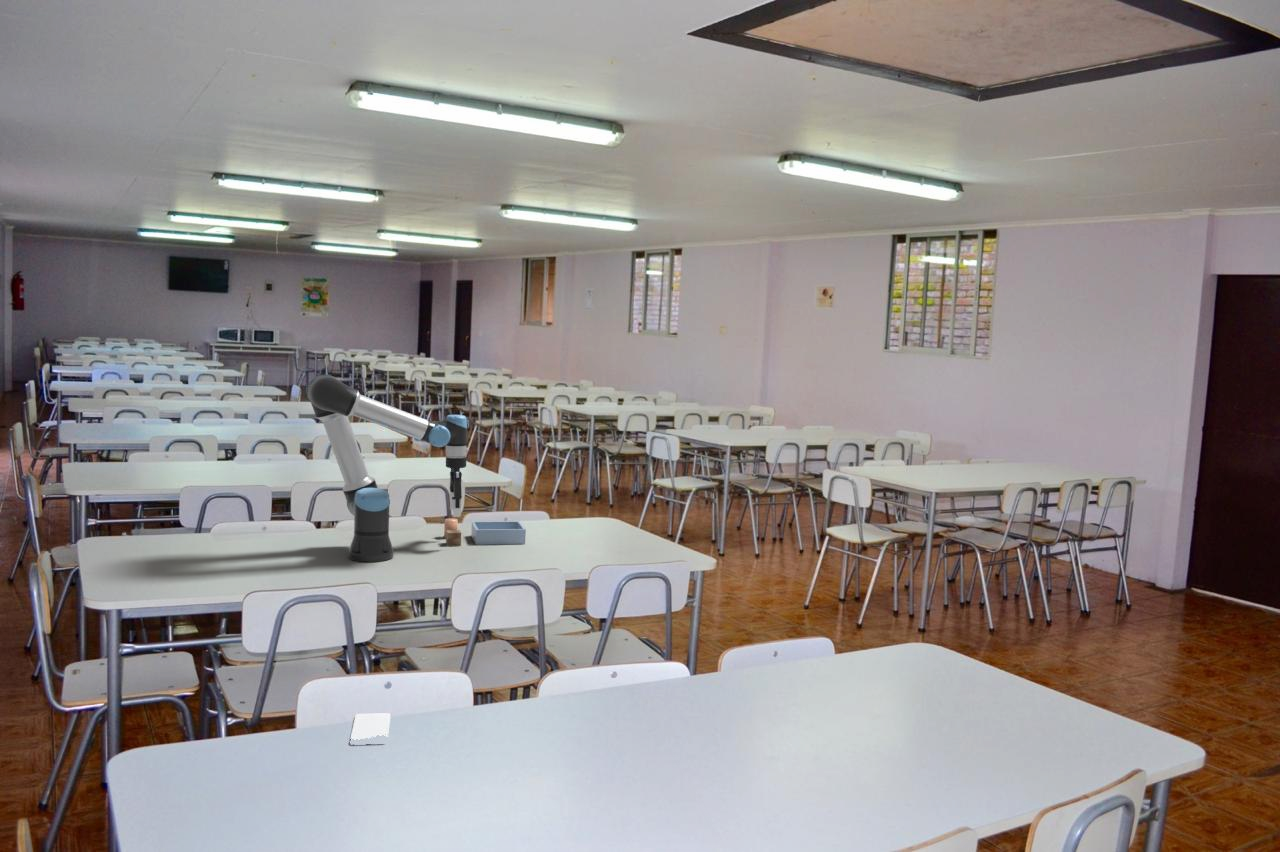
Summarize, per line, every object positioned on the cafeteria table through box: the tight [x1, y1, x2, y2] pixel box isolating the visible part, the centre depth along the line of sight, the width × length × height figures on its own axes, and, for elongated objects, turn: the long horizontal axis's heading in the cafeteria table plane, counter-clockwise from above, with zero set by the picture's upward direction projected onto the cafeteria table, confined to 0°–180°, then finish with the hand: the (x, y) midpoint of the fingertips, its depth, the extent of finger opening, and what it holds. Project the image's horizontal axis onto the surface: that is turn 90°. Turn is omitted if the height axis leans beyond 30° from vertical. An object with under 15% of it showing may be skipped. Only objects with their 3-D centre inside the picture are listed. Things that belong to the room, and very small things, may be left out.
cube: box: [445, 529, 462, 547], centre depth 370 cm, size 5×5×5 cm
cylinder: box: [443, 517, 459, 539], centre depth 382 cm, size 5×5×7 cm
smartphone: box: [349, 712, 392, 740], centre depth 202 cm, size 7×1×15 cm
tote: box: [470, 520, 527, 546], centre depth 381 cm, size 19×16×6 cm
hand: (455, 513), depth 369 cm, fingers open, 13 cm apart
